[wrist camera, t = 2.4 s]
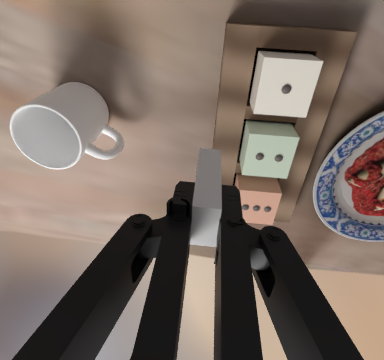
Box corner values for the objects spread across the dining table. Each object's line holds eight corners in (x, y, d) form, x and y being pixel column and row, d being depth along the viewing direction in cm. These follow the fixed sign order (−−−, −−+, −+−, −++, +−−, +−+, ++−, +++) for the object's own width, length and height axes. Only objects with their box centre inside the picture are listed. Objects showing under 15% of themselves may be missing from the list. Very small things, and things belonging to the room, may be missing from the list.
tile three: (236, 172, 40) (238, 190, 36) (276, 176, 40) (282, 194, 36) (231, 202, 43) (232, 221, 40) (267, 206, 43) (272, 225, 40)
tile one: (258, 50, 30) (264, 57, 27) (310, 54, 30) (323, 61, 27) (249, 101, 34) (253, 114, 30) (296, 105, 34) (306, 118, 30)
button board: (226, 21, 31) (227, 23, 29) (346, 29, 31) (357, 32, 28) (206, 203, 47) (206, 214, 44) (285, 210, 46) (289, 222, 44)
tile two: (246, 120, 35) (249, 134, 32) (291, 123, 35) (299, 138, 31) (239, 158, 39) (241, 175, 35) (280, 162, 38) (287, 179, 35)
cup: (60, 68, 36) (13, 89, 27) (141, 111, 38) (121, 142, 30) (49, 119, 40) (6, 150, 32) (123, 154, 43) (100, 192, 34)
